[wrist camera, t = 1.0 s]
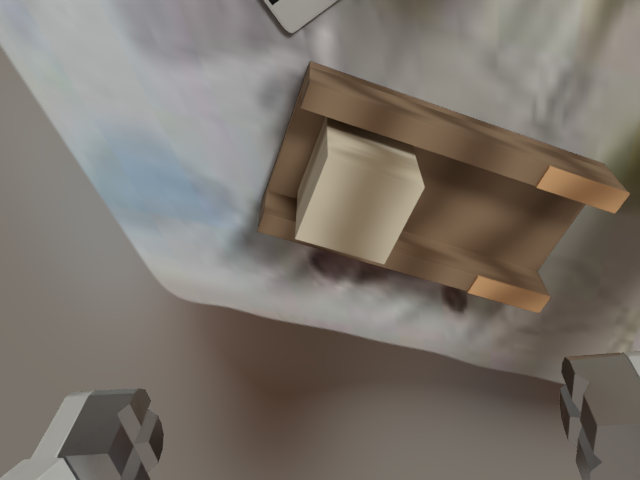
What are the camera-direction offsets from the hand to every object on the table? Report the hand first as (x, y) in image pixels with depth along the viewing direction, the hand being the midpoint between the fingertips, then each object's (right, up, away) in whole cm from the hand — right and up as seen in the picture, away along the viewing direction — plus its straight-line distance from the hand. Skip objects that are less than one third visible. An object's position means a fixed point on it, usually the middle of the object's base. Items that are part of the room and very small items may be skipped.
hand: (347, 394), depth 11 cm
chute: (+7, +7, +31) cm, 32 cm away
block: (+2, +8, +28) cm, 29 cm away
